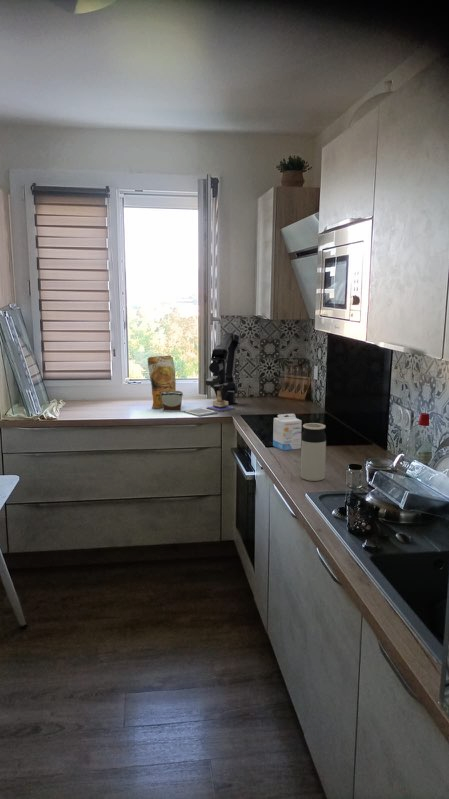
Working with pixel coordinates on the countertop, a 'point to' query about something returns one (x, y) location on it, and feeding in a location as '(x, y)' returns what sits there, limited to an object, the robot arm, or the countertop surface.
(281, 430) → the ink box
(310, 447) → the travel mug
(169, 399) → the food container
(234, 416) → the countertop surface
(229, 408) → the ink pad
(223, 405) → the stamp
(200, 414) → the marked board
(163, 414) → the countertop surface
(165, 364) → the pancake mix bag
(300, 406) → the countertop surface
